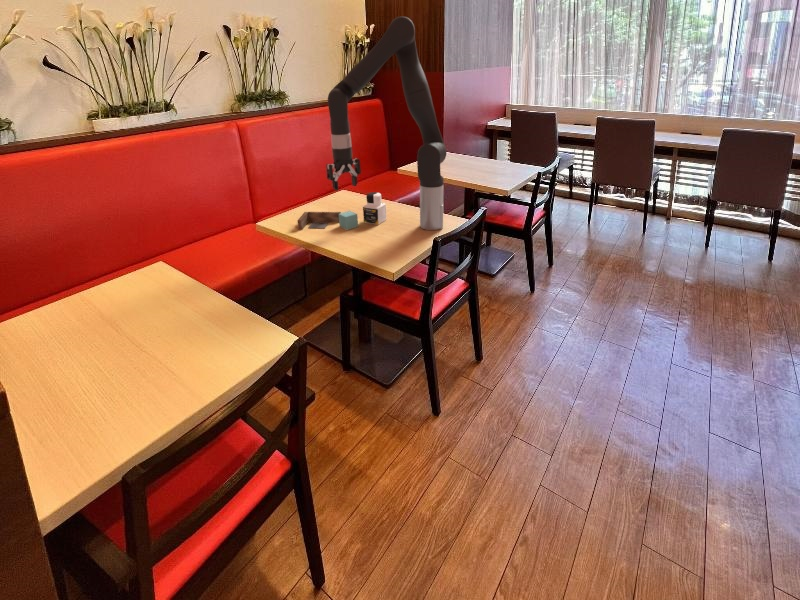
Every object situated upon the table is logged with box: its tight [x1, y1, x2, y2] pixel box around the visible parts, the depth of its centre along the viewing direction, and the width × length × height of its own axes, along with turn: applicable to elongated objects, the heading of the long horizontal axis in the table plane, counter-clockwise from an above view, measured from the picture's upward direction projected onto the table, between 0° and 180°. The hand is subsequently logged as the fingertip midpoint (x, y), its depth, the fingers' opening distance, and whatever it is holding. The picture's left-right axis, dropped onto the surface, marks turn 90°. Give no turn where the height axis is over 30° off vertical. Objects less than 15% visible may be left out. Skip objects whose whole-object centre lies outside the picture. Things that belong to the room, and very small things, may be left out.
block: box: [338, 210, 359, 231], centre depth 198 cm, size 6×6×6 cm
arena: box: [296, 211, 342, 231], centre depth 201 cm, size 16×11×4 cm
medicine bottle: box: [362, 191, 387, 226], centre depth 201 cm, size 7×7×12 cm
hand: (345, 187), depth 191 cm, fingers open, 8 cm apart
